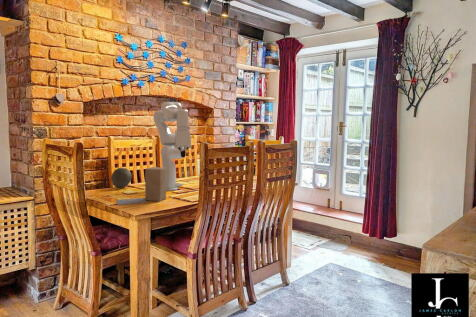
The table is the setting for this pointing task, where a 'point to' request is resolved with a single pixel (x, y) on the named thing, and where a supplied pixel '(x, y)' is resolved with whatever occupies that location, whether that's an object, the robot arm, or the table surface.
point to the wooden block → (155, 184)
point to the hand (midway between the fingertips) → (183, 157)
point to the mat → (131, 201)
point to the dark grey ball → (121, 177)
